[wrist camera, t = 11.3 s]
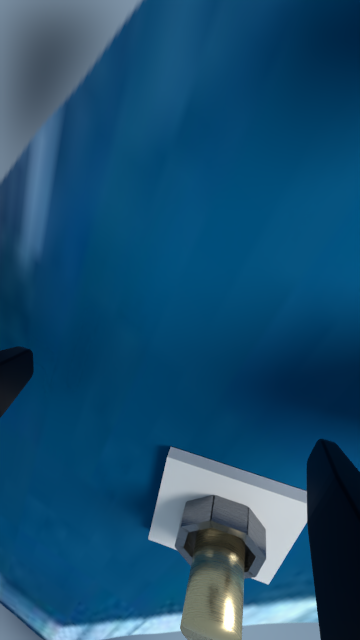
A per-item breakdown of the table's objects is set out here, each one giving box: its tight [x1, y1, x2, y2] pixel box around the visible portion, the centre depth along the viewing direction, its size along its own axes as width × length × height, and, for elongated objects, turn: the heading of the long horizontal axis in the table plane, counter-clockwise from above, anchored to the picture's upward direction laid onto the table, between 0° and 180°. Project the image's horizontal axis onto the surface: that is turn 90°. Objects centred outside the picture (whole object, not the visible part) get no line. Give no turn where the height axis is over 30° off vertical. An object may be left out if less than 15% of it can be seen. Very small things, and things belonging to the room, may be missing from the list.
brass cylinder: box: [180, 528, 245, 640], centre depth 25 cm, size 4×4×8 cm
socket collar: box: [175, 495, 266, 578], centre depth 28 cm, size 8×8×2 cm
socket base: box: [148, 447, 307, 585], centre depth 30 cm, size 13×13×1 cm
